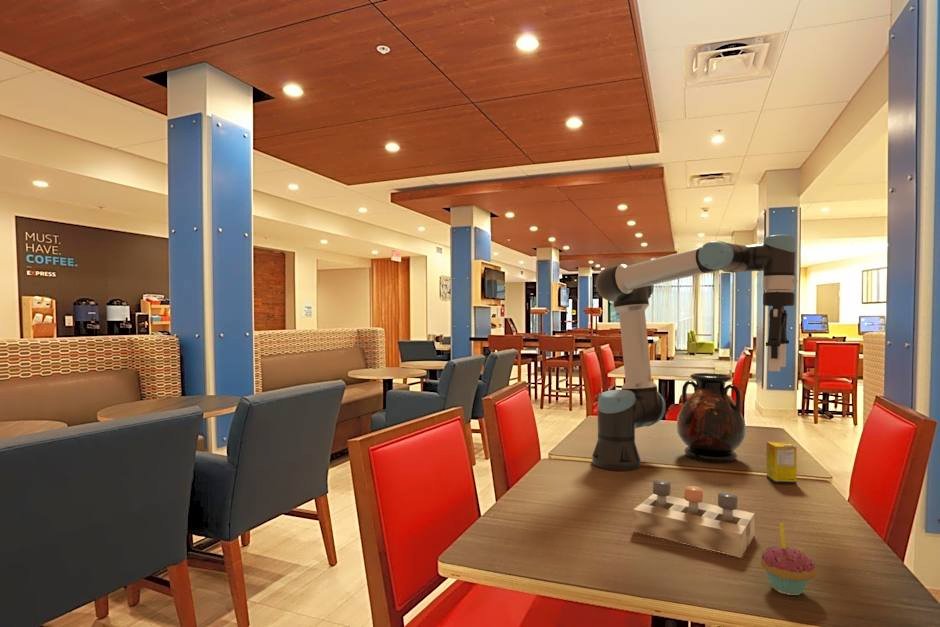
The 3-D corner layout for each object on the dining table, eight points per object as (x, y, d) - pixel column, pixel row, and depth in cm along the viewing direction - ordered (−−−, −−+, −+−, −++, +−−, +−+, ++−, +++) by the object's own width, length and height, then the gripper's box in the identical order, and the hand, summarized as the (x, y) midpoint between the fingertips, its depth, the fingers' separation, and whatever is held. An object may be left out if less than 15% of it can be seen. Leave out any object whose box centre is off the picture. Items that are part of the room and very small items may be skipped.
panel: (633, 531, 122) (633, 509, 122) (654, 513, 133) (654, 492, 133) (741, 559, 108) (741, 534, 108) (754, 535, 119) (754, 513, 119)
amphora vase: (754, 456, 185) (754, 374, 185) (733, 470, 169) (734, 380, 169) (690, 446, 199) (690, 370, 199) (666, 457, 184) (666, 375, 184)
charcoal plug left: (650, 505, 124) (650, 483, 124) (656, 500, 127) (656, 479, 127) (667, 508, 122) (667, 486, 122) (672, 503, 125) (672, 482, 125)
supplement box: (786, 478, 161) (787, 441, 161) (797, 484, 155) (797, 446, 155) (765, 477, 162) (766, 441, 162) (775, 484, 156) (775, 446, 156)
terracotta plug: (682, 511, 120) (682, 489, 120) (687, 507, 123) (687, 485, 123) (700, 515, 118) (700, 492, 118) (704, 510, 121) (704, 488, 121)
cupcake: (750, 578, 100) (750, 514, 100) (793, 576, 101) (794, 512, 101) (780, 603, 92) (781, 532, 92) (827, 601, 93) (828, 531, 93)
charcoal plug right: (716, 519, 116) (716, 496, 116) (720, 514, 119) (720, 491, 119) (735, 523, 114) (735, 499, 114) (739, 518, 117) (739, 494, 117)
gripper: (790, 290, 137) (788, 374, 137) (798, 292, 157) (797, 365, 157) (756, 290, 141) (755, 371, 141) (769, 292, 161) (768, 364, 162)
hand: (777, 368), depth 149 cm, fingers open, 13 cm apart
